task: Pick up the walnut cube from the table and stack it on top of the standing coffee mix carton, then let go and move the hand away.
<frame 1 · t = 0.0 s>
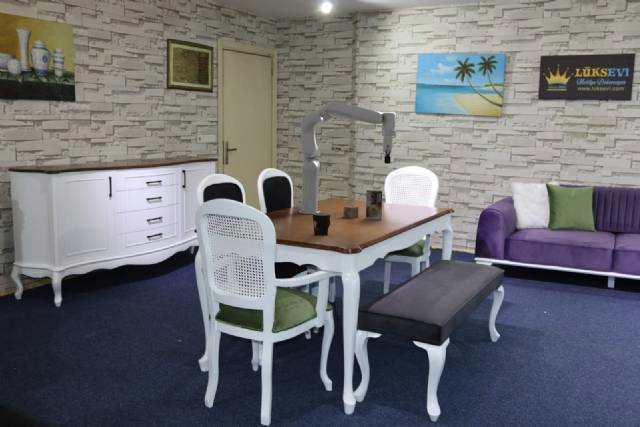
hand: (387, 163, 349), 31 cm above the table, tool pointing down, fingers open, 9 cm apart
walnut block: (350, 217, 344), on the table
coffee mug: (321, 235, 285), on the table
coffee box: (373, 219, 340), on the table
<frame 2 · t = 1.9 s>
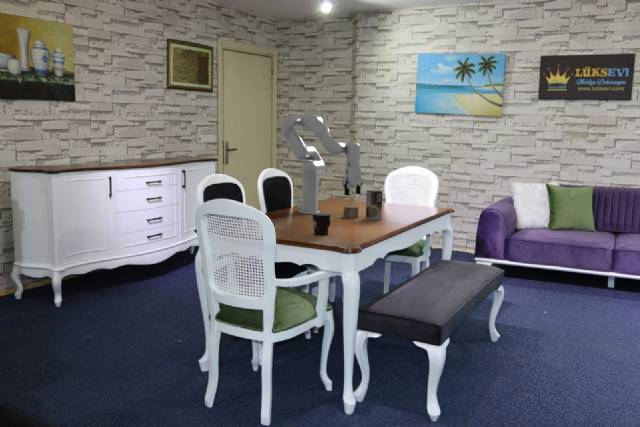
hand: (352, 194, 342), 13 cm above the table, tool pointing down, fingers open, 9 cm apart
nothing on the table moved.
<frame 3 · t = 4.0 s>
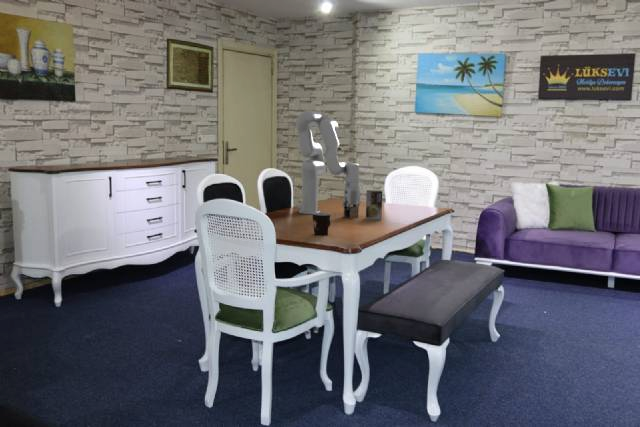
hand: (351, 215, 344), 1 cm above the table, tool pointing down, fingers closed on walnut block, 6 cm apart
walnut block: (350, 217, 344), on the table, touching gripper
everything else where it was.
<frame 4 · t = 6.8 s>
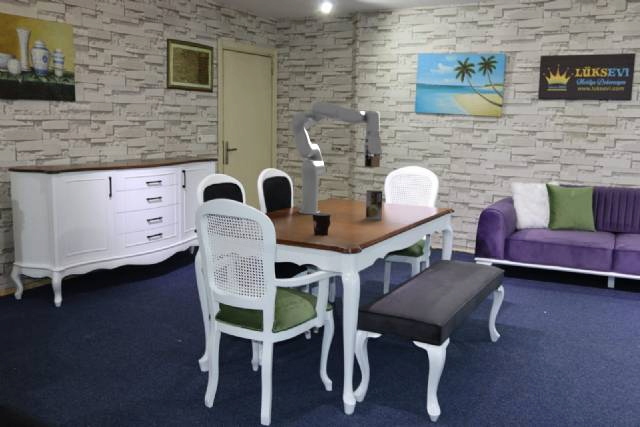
hand: (372, 165, 336), 30 cm above the table, tool pointing down, fingers closed on walnut block, 6 cm apart
walnut block: (372, 166, 337), point 30 cm above the table, touching gripper
everything else where it was.
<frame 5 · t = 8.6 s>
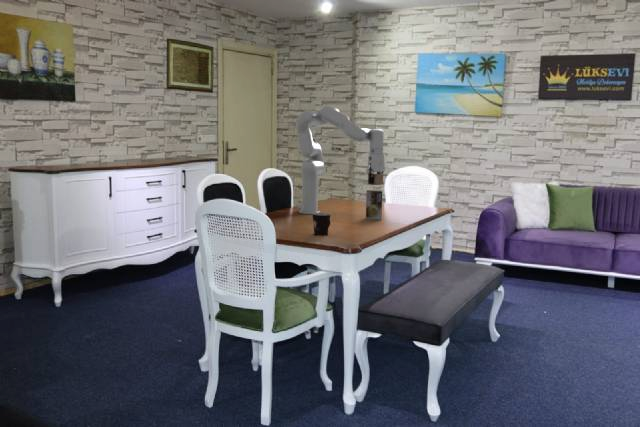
hand: (375, 183, 337), 21 cm above the table, tool pointing down, fingers closed on walnut block, 6 cm apart
walnut block: (375, 184, 337), point 20 cm above the table, touching gripper
everything else where it was.
when the fingers open (18 cm above the table, at t = 10.1 s): walnut block stays where it is, resting on coffee box.
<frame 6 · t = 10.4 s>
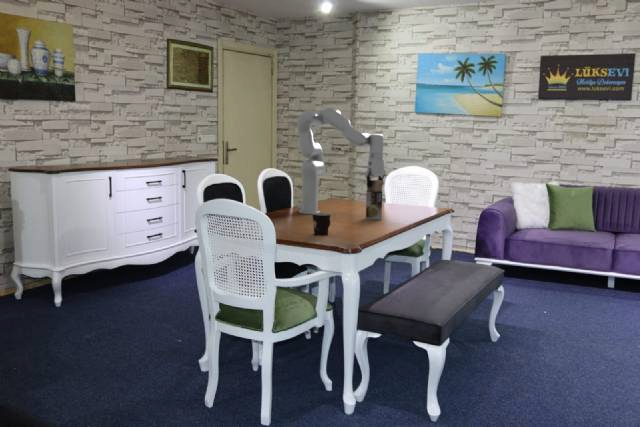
hand: (374, 186, 338), 18 cm above the table, tool pointing down, fingers open, 9 cm apart
walnut block: (374, 190, 338), point 16 cm above the table, touching coffee box
coffee box: (373, 219, 340), on the table, touching walnut block
everything else where it was.
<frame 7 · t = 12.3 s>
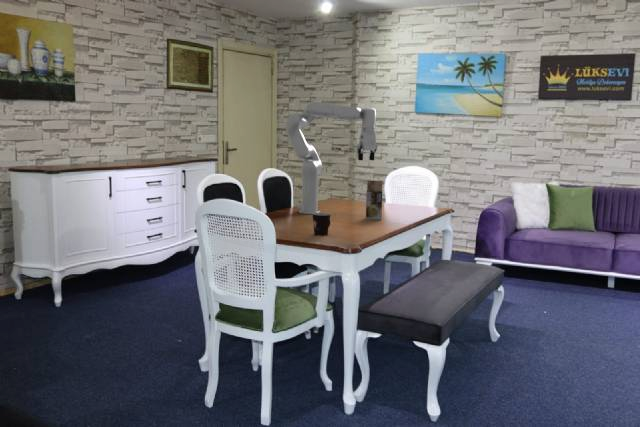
hand: (366, 160, 343), 33 cm above the table, tool pointing down, fingers open, 9 cm apart
nothing on the table moved.
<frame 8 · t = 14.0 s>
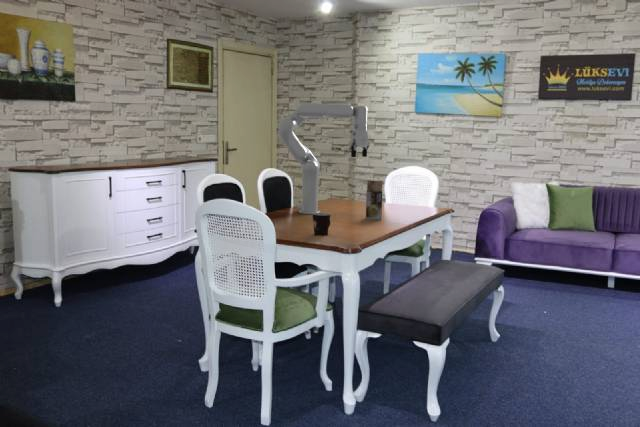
hand: (359, 156, 349), 34 cm above the table, tool pointing down, fingers open, 9 cm apart
nothing on the table moved.
at the end: walnut block point 16.1 cm above the table; walnut block 0.1 cm from the coffee box (horizontally); the gripper is holding nothing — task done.
